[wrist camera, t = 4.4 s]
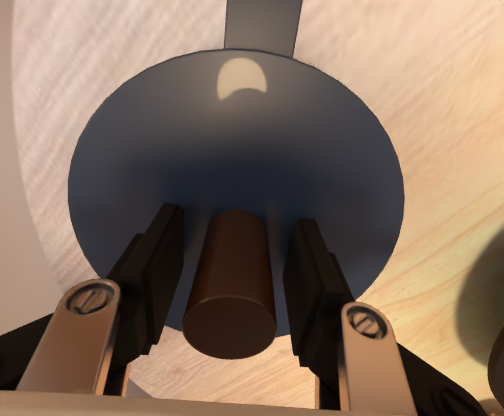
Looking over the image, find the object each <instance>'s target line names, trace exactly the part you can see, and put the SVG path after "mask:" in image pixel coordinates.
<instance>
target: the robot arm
mask: <svg viewBox="0 0 504 416" xmlns="http://www.w3.org/2000/svg"><path fill="white" fill-rule="evenodd" d="M183 266H184V208H180V207H179V204H171V203H164V204H163V205H162V206H161V208H160V210H159V211H158V213H157V214H156V216H155V217H154V219H153V221H152V222H151V224H150V225H149V227H148V228H147V230H146V232H145V233H137V234H136V235H135V236H134V237H133V239H132V240H131V242H130V243H129V245H128V246H127V248H126V249H125V250H124V252H123V253H122V255H121V256H120V258H119V259H118V261H117V262H116V264H115V265H114V267H113V268H112V269H111V271H110V272H109V274H108V275H107V277H106V278H105V279H99V278H98V279H92V280H87V281H84V282H81V283H79V284H77V285H76V286H74V287H72V288H71V289H70V290H68V291H67V292H66V293H65V294H64V296H63V297H62V298H61V300H60V302H59V304H58V306H57V308H56V310H55V312H54V313H52V314H49V315H47V316H45V317H43V318H40V319H38V320H36V321H34V322H31V323H29V324H26V325H24V326H22V327H19V328H17V329H15V330H13V331H10V332H8V333H6V334H3V335H1V336H0V416H488V415H487V413H486V412H485V410H484V409H483V407H482V406H481V405H480V403H479V402H478V401H477V400H476V399H475V398H474V397H473V396H472V395H471V394H470V393H469V392H467V391H466V390H465V389H464V388H462V387H461V386H459V385H458V384H457V383H455V382H454V381H452V380H451V379H449V378H448V377H446V376H445V375H444V374H442V373H441V372H439V371H438V370H436V369H435V368H433V367H432V366H431V365H429V364H428V363H426V362H425V361H423V360H422V359H420V358H419V357H418V356H416V355H415V354H413V353H412V352H410V351H409V350H407V349H406V348H405V347H403V346H402V345H400V344H399V343H397V342H396V339H395V335H394V332H393V328H392V326H391V324H390V322H389V320H388V319H387V318H386V317H385V315H384V314H382V313H381V312H380V311H379V310H378V309H376V308H374V307H373V306H371V305H368V304H366V303H362V302H355V299H354V297H353V295H352V293H351V290H350V288H349V286H348V283H347V281H346V279H345V277H344V274H343V272H342V270H341V267H340V265H339V263H338V261H337V258H336V256H335V254H334V253H331V252H328V249H327V247H326V244H325V242H324V239H323V237H322V235H321V232H320V230H319V227H318V225H317V222H316V220H315V219H309V218H300V220H299V221H295V223H294V227H293V231H292V235H291V239H290V244H289V248H288V252H287V257H286V261H285V265H284V269H283V286H284V293H285V300H286V307H287V314H288V321H289V328H290V335H291V342H292V349H293V354H294V356H298V357H299V363H300V367H309V369H310V370H311V371H312V372H313V373H314V374H315V375H316V376H315V409H307V408H293V407H279V406H264V405H249V404H234V403H218V402H203V401H188V400H172V399H156V398H138V397H125V395H126V389H127V383H128V377H129V371H130V365H131V362H132V361H133V360H135V359H136V358H138V357H139V356H140V355H149V352H150V349H151V346H152V345H157V344H158V342H159V339H160V336H161V333H162V330H163V327H164V324H165V321H166V318H167V315H168V312H169V309H170V307H171V304H172V301H173V298H174V295H175V292H176V289H177V286H178V283H179V280H180V277H181V274H182V271H183ZM490 416H497V415H496V414H494V413H492V414H491V415H490Z"/></svg>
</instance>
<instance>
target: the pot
mask: <svg viewBox="0 0 504 416" xmlns="http://www.w3.org/2000/svg"><path fill="white" fill-rule="evenodd" d="M302 1H303V0H227V7H226V23H225V38H224V49H228V48H233V49H248V50H261V51H265V52H269V53H274V54H278V55H283V56H287V57H290V58H293V54H294V48H295V42H296V36H297V31H298V25H299V19H300V13H301V7H302Z"/></svg>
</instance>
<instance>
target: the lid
mask: <svg viewBox="0 0 504 416" xmlns="http://www.w3.org/2000/svg"><path fill="white" fill-rule="evenodd" d="M404 199H405V197H404V185H403V176H402V172H401V168H400V164H399V160H398V156H397V154H396V152H395V149H394V147H393V145H392V143H391V140H390V138H389V136H388V134H387V133H386V131H385V130H384V128H383V126H382V125H381V123H380V122H379V120H378V119H377V117H376V116H375V115H374V113H373V112H372V111H371V110H370V109H369V108H368V107H367V106H366V105H365V103H364V102H363V101H362V100H361V99H360V98H359V97H358V96H357V95H355V94H354V93H353V92H352V91H351V90H349V89H348V88H347V87H346V86H344V85H343V84H342V83H341V82H339V81H338V80H336V79H335V78H333V77H331V76H329V75H328V74H326V73H324V72H322V71H321V70H319V69H317V68H316V67H313V66H311V65H308V64H306V63H303V62H301V61H298V60H295V59H293V58H290V57H287V56H283V55H278V54H274V53H269V52H265V51H261V50H248V49H233V48H228V49H216V50H204V51H198V52H194V53H190V54H185V55H181V56H177V57H173V58H171V59H168V60H166V61H163V62H161V63H159V64H156V65H154V66H151V67H149V68H147V69H145V70H144V71H142V72H140V73H139V74H137V75H136V76H134V77H132V78H131V79H129V80H128V81H126V82H124V83H123V84H122V85H121V86H120V87H119V88H118V89H116V90H115V91H114V92H113V93H112V94H111V95H110V96H109V97H107V98H106V99H105V100H104V102H103V103H102V104H101V105H100V107H99V108H98V109H97V110H96V112H95V113H94V114H93V115H92V116H91V118H90V119H89V121H88V123H87V125H86V126H85V128H84V130H83V132H82V134H81V135H80V137H79V140H78V142H77V145H76V148H75V151H74V154H73V157H72V160H71V165H70V171H69V177H68V205H69V211H70V218H71V222H72V225H73V229H74V232H75V235H76V238H77V240H78V242H79V245H80V247H81V249H82V251H83V253H84V255H85V257H86V258H87V260H88V261H89V263H90V265H91V266H92V268H93V269H94V271H95V272H96V273H97V274H98V276H99V277H100V278H101V279H105V278H106V277H107V275H108V274H109V272H110V271H111V269H112V268H113V267H114V265H115V264H116V262H117V261H118V259H119V258H120V256H121V255H122V253H123V252H124V250H125V249H126V248H127V246H128V245H129V243H130V242H131V240H132V239H133V237H134V236H135V235H136V234H137V233H145V232H146V230H147V228H148V227H149V225H150V224H151V222H152V221H153V219H154V217H155V216H156V214H157V213H158V211H159V210H160V208H161V206H162V205H163V204H164V203H171V204H179V207H180V208H184V266H183V271H182V274H181V277H180V280H179V283H178V286H177V289H176V292H175V295H174V298H173V301H172V304H171V307H170V309H169V312H168V315H167V318H166V321H165V324H164V325H165V326H168V327H170V328H173V329H175V330H178V331H182V332H183V335H184V337H185V339H186V340H187V342H188V343H189V344H190V345H191V346H192V347H193V348H195V349H196V350H198V351H199V352H201V353H203V354H205V355H208V356H211V357H214V358H219V359H230V360H233V359H243V358H248V357H251V356H254V355H257V354H259V353H261V352H262V351H264V350H265V349H267V348H268V347H269V346H270V345H271V343H272V342H273V341H274V339H275V338H276V337H280V336H285V335H289V334H290V328H289V321H288V314H287V307H286V300H285V293H284V286H283V269H284V265H285V261H286V257H287V252H288V248H289V244H290V239H291V235H292V231H293V227H294V223H295V221H299V220H300V218H309V219H315V220H316V222H317V225H318V227H319V230H320V232H321V235H322V237H323V239H324V242H325V244H326V247H327V249H328V252H331V253H334V254H335V256H336V258H337V261H338V263H339V265H340V267H341V270H342V272H343V274H344V277H345V279H346V281H347V283H348V286H349V288H350V290H351V293H352V295H353V297H354V299H355V300H356V299H358V298H359V297H360V296H361V295H362V294H363V293H364V292H365V291H366V290H367V289H368V288H369V287H370V286H371V285H372V283H373V282H374V281H375V280H376V278H377V277H378V276H379V274H380V273H381V272H382V270H383V269H384V267H385V265H386V264H387V262H388V260H389V258H390V256H391V255H392V253H393V250H394V248H395V245H396V242H397V240H398V237H399V234H400V229H401V225H402V220H403V213H404Z"/></svg>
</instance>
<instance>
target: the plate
mask: <svg viewBox="0 0 504 416" xmlns="http://www.w3.org/2000/svg"><path fill="white" fill-rule="evenodd" d="M488 382H489V385H490V389H491V391H492V393H493V395H494V396H495V398H496V399H497V401H498V402H499V403H500V405H501V406H502V407H503V408H504V326H503V328H502V330H501V331H500V333H499V335H498V337H497V339H496V341H495V343H494V345H493V348H492V351H491V354H490V358H489V363H488Z"/></svg>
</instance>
